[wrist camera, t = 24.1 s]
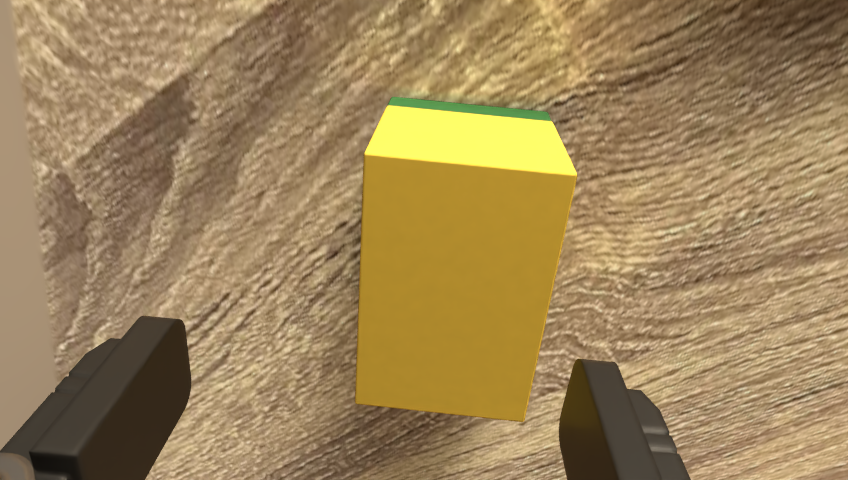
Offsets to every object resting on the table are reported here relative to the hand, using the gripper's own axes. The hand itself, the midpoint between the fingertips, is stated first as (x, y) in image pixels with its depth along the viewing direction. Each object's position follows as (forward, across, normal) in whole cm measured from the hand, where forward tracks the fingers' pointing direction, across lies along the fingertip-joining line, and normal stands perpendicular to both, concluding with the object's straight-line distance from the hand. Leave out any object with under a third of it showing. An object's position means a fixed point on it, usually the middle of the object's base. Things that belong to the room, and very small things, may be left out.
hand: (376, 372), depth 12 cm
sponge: (+7, -2, 0) cm, 7 cm away
